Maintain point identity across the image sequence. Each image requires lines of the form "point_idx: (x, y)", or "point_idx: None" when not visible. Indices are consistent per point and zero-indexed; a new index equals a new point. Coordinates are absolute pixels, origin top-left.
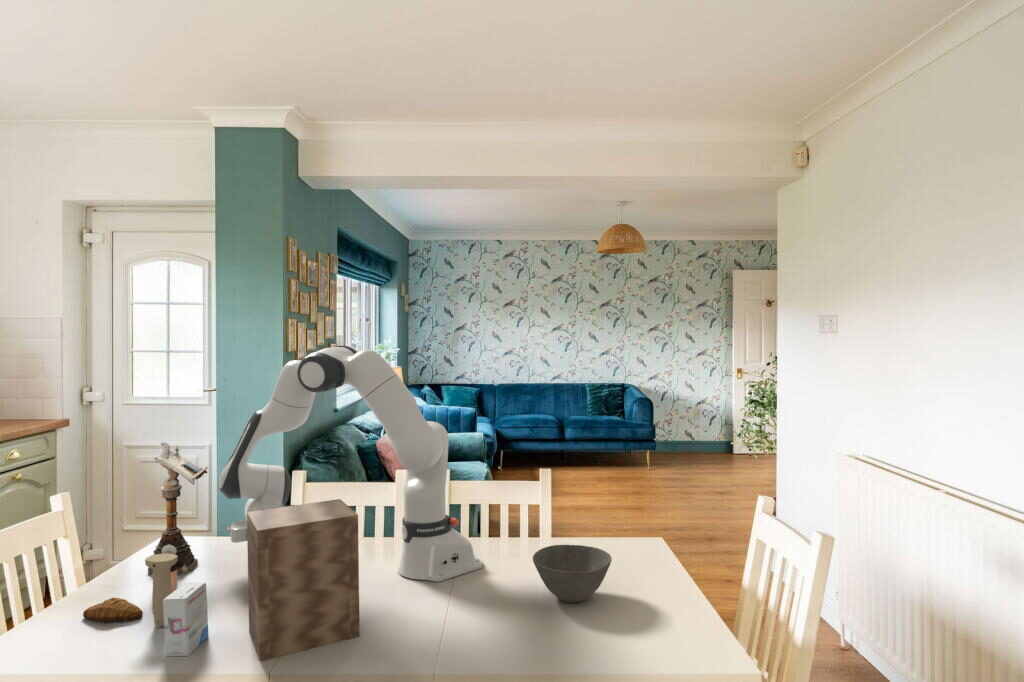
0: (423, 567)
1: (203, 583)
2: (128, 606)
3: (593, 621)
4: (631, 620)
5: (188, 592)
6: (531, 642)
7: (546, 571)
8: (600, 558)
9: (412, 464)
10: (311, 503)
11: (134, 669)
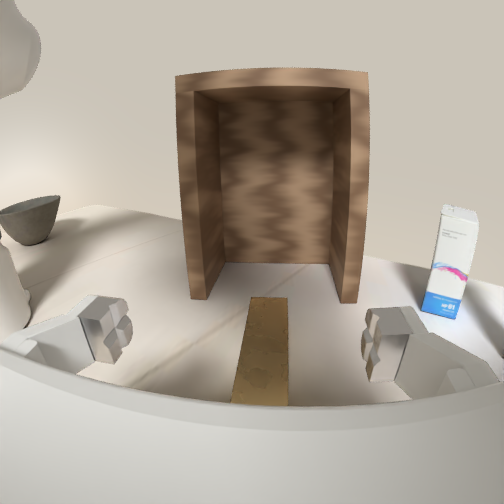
0: (20, 287)
1: (442, 212)
2: None
3: (70, 227)
4: (60, 224)
5: (452, 210)
6: (119, 224)
7: (56, 203)
8: (11, 212)
9: (35, 70)
10: (236, 70)
11: (476, 283)
